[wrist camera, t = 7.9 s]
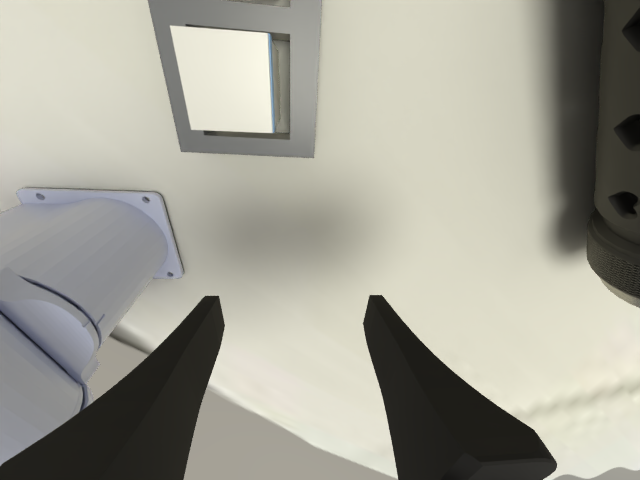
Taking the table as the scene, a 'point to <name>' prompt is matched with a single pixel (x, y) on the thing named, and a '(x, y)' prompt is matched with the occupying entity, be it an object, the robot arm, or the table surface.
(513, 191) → the table surface
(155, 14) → the socket board
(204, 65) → the grey plug
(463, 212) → the table surface
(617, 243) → the muzzle brake
